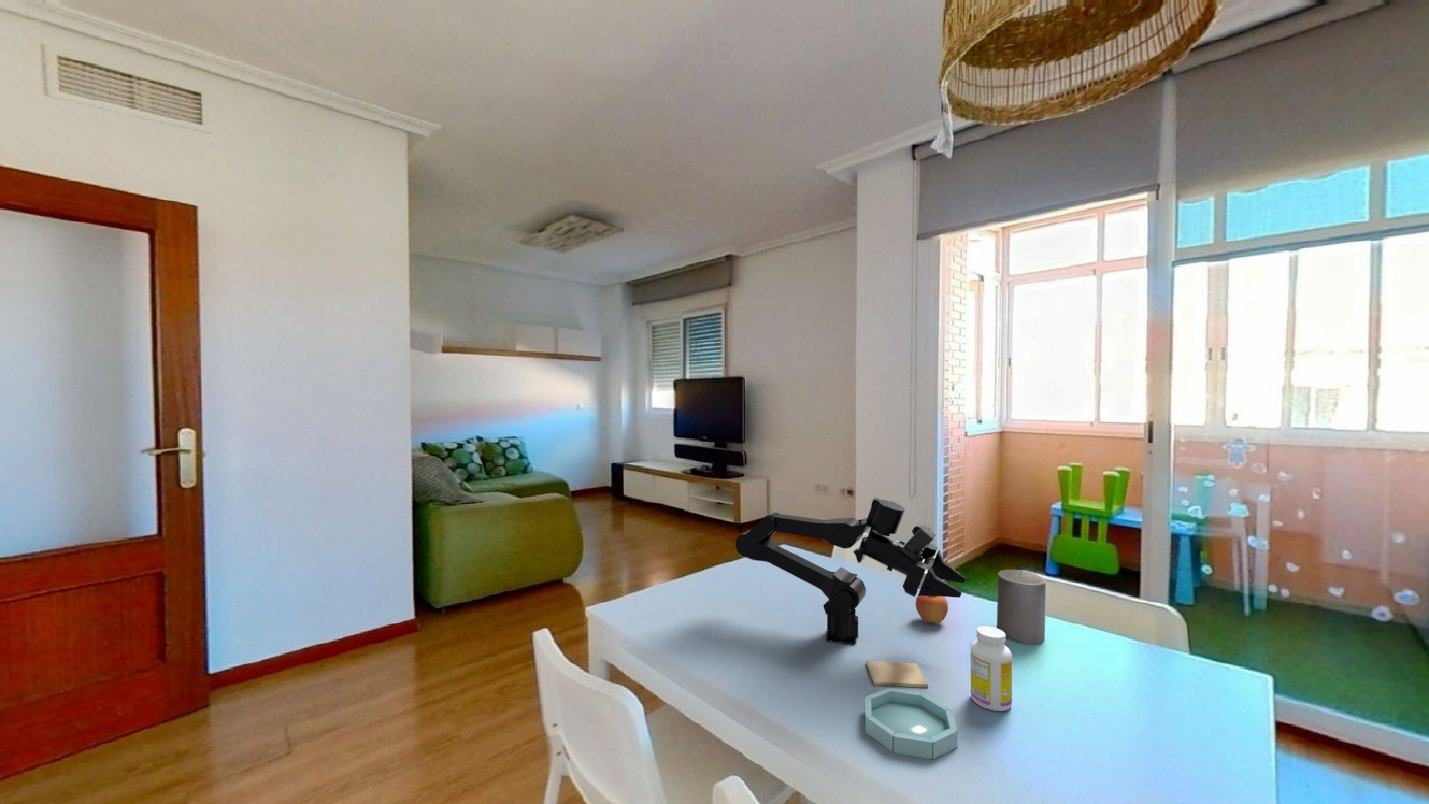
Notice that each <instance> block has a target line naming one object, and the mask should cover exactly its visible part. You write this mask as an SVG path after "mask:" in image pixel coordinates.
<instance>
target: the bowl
mask: <svg viewBox="0 0 1429 804" xmlns="http://www.w3.org/2000/svg"><path fill="white" fill-rule="evenodd" d="M864 725H865V726H864V732H865V733H866V734H868V735H869V736H870V737H871V738H873V740H875V741H877V742H878V743H879V744H881V745H882V746H883V747H885V748H886V749H887V750H889V751H890V752H892V753H894V754H897V755H904V756H912V757H914V758H915V757H916V758H922V759H928V760H932V759H933V760H935V759H937V758H939V757H941V756H942V755H945V754H946V753H948V752H951V751H952V750H955V749H956V748H958V729H957V728H958V727H957V725H956V720H955V717H954V714H953V711H952V710H951V708H949V707H948V706H947V705H944V703H943V704H942V703H941V702H940V701H938V700H936V699H934V698H933V697H931V696H929V695H927V694H926V693H924V692H923V693H922V692H921V691H913V690H909V689H908V690H907V689H899V688H892V687H889V688H888V687H886V688H884V689H882V690H879V691H876V692H874V693H872V694H869V695H866V696H865V697H864Z"/></svg>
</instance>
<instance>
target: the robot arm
mask: <svg viewBox="0 0 1429 804" xmlns="http://www.w3.org/2000/svg"><path fill="white" fill-rule="evenodd" d="M905 510H906V509H905V508H904V506H902V505H901V504H900V503H896V502H894V501H892V500H891V501H889V500H885V499H880V498H877V497H875V498H873V499H872V501H871V504H870V510H869V512H868V514H867V518H866V517H864V518H862V519H857V518H853V517H836V518H830V519H819V518H813V517H812V518H811V517H806V516H799V515H798V516H797V515H790V514H783V513H782V514H781V513H778V512H772V513H770V514H768V515H765V516H764V518H763V519H762V520H761V521H760V522H758V523H757V524H756V525H754V527H752V528H751V529H749V530H747V531H746V532H743V533H741V534H739V535H738V536H737V537H736V539H735V542H734V543H735V548H736V551H737V554H738V555H739V556H741V557H743V558H746V559H749V560H752V561H756V562H758V561H759V562H765V563H769V564H771V565H772V566H775V567H777V568H778V569H780V570H782V571H785V572H786V573H788V574H790V575H792V576H794V577H795V578H798V579H800V580H801V581H803V582H806V583H807V584H809V585H811V586H813V587H815V588H817V589H819V590H820V591H821V592H822V593H823V594H824V596H825V597H826V598H827V599H828V600H827V601H826V602H825V603H824V604H823V609H824V612H825V615H826V623H827V624H826V637H825V640H826V641H828V642H834V643H841V644H850V645H856V643H857V639H859V616H858V615H857V614H856V608H858V606H859V605H860V603H862V601H863V600H864V599H865V597H866V594H867V590H866V589H867V587H866V585H865V583H864V581H863V580H862V579H861V578H859V577H857V576H858V573H853V572H850V571H848V570H847V569H845V568H843V567H842V566H841V567H840V568H838V569H837V570H836V571H830V570H828V569H826V568H824V567H822V566H820V565H817V564H816V563H813V562H812V561H810V560H808V559H805V558H804V557H801V556H799V555H798V554H796V553H794V552H791V551H790V550H787V549H785V548H784V547H781V546H780V545H778V544H777V543H776V542H775V541H774V540H773V538H772V536H773V535H774V533H781V534H790V535H797V536H802V537H809V538H814V539H815V538H816V539H820V540H822V541H824V542H826V543H828V544H829V545H832V546H835V547H838V548H840V549H850V548H852V547H854V545H856V544H857V543H858V542H859V541H860V540H861V541H860V543H859V547H858V548H855V549H854V551H853V554H854V555H855V559H856V561H857V563H859V564H860V563H862V561H864V560H865V558H866V557H867V558H869V559H871V560H874V561H876V562H878V563H879V564H882V565H884V566H886V567H887V568H886V570H887V571H889V572H892V571H896V572H898V573H900V574H902V575H905V579H904V582H903V585H902V588H903V590H904V593H906V594H908V595H909V596H911V597H914V598H915V597H916V595H917V596H943V597H945V598H958V599H959V598H961V596H962V591H960V590H959V589H958V588H956V587H954V586H953V585H951V584H950V583H948V582H953V583H960V584H965V583H966V577H965V576H964V575H962V574H961V573H960V572H958V571H957V570H956V569H955V568H953V567H952V566H951V565H949V563H947V562H946V561H945V560H944V558H943V556H942V554H941V550H940V549H939V550H938V548H939V547H938V546H936V545H934V544H932V543H931V542H933V541H934V539H935V537H936V534H935V533H934V532H933V530H931V527H930V526H928V525H925V524H923V525H920V524H916V525H915V526H914V527H913V528H912V530H911V533H912V535H911V538H909V540H908V541H906V540H903V539H900V540H899V541H897V540H894V539H892V538H889V537H890V536H891V534H892V535H896V534H897V532H898V529H899V526H900V525H901V521H902V518H903V516H904V514H905ZM868 530H869V532H868V534H867V536H863V535H864V534H865V533H866V532H867V531H868ZM947 581H948V582H947ZM918 591H919V592H918ZM917 593H918V594H917Z"/></svg>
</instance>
